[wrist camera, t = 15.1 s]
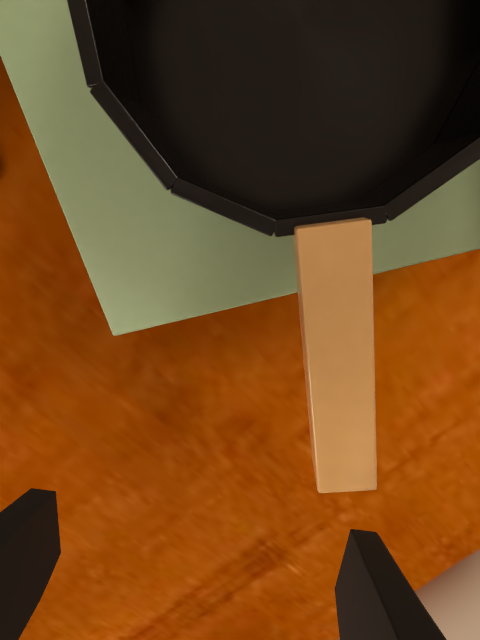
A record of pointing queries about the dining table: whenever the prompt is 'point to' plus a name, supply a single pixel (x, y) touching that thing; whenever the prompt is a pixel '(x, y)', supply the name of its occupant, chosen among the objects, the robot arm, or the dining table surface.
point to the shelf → (174, 199)
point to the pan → (299, 149)
